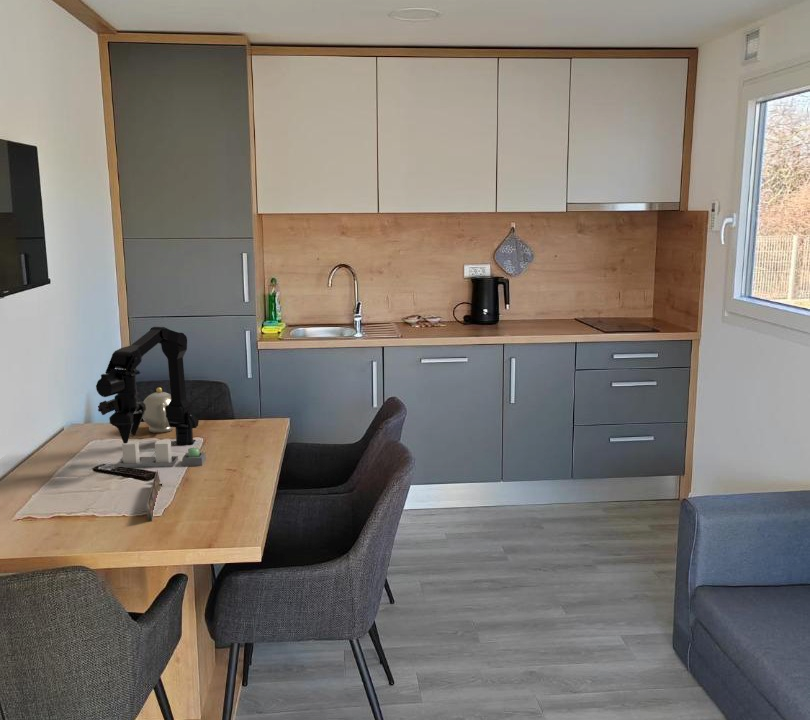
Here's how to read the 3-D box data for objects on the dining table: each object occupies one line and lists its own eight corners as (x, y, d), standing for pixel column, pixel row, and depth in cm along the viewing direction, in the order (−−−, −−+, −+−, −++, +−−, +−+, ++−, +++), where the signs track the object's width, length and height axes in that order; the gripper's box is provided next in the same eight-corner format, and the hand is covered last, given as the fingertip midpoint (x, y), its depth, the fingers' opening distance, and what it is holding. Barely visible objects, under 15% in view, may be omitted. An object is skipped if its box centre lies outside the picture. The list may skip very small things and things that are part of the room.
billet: (139, 462, 255) (138, 440, 253) (136, 465, 251) (135, 444, 249) (127, 462, 254) (125, 440, 253) (123, 466, 250) (122, 444, 249)
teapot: (140, 427, 301) (137, 385, 298) (177, 424, 306) (175, 382, 304) (145, 439, 285) (142, 394, 282) (184, 435, 290) (182, 391, 287)
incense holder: (153, 522, 207) (152, 502, 206) (148, 522, 207) (146, 502, 206) (162, 485, 236) (161, 467, 235) (158, 485, 236) (157, 468, 235)
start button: (189, 457, 255) (189, 447, 254) (200, 457, 255) (200, 447, 254) (187, 460, 252) (187, 450, 251) (198, 460, 252) (198, 450, 251)
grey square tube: (186, 463, 256) (186, 452, 256) (205, 462, 257) (205, 452, 256) (182, 469, 251) (182, 458, 250) (202, 468, 251) (201, 457, 250)
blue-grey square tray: (129, 453, 267) (129, 450, 267) (159, 453, 268) (159, 449, 267) (120, 462, 257) (120, 459, 257) (152, 462, 258) (151, 458, 258)
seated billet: (159, 461, 255) (157, 440, 254) (171, 461, 255) (170, 440, 254) (155, 465, 251) (154, 443, 250) (168, 465, 251) (167, 443, 250)
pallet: (124, 463, 256) (123, 456, 256) (178, 462, 257) (178, 455, 257) (116, 471, 248) (116, 464, 248) (172, 470, 249) (172, 463, 249)
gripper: (109, 384, 257) (112, 432, 260) (90, 397, 239) (93, 447, 241) (144, 384, 258) (147, 431, 260) (128, 396, 239) (131, 447, 242)
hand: (129, 439), depth 251 cm, fingers open, 9 cm apart
